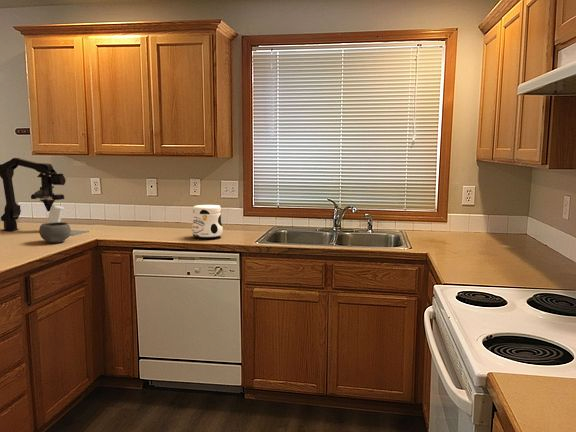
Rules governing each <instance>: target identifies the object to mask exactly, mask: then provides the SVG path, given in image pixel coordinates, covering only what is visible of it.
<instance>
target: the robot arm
mask: <svg viewBox="0 0 576 432" xmlns="http://www.w3.org/2000/svg"><path fill="white" fill-rule="evenodd" d="M19 166H20V167H24V168H28V169H33V170H34V171H36V172H38V173H39V174H38V175H37V178H40V181H41V183H40V184H41V186H40V187H39V190H36V192H34V193H32V194H31V195H30V200H38V199H39V201H40V202H42V203H43V205H44V207H45V209H46V211H47V212H50V209H51V206H54V205H53V204H54V203H55V201H59V200H65V195H64V194H63V193H62V194H60V193H58V194H55V193H54V188H55V186H64V185H65V184H66V181H67V179H66V177H65V175H64V173H61V172H60V173H57V171H56V170H55V168H54V167H53V164H52V163H48V162H47V163H43V162H37V161H36V162H35V161H32V160H27V159H23V158H20V157H13V158H11V159H10V160H8V161H6V162H4V163H2V164H0V178H1V180H2V184H3V185H2V186H3V190H4V191H3V193H4V198H5V206H4V212H3V215H1V217H0V221H1V222H3V229H2V230H1V231H3V232H13V231H17V230H19V229H20V228H18V223H17V220H18V219H19V217H20V215H21V212H22V210H21V205H20V204H17V202H16V197H15V191H14V190H15V189H14V183H13V177H14V174H15V169H18V167H19ZM19 231H20V230H19Z"/></svg>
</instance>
